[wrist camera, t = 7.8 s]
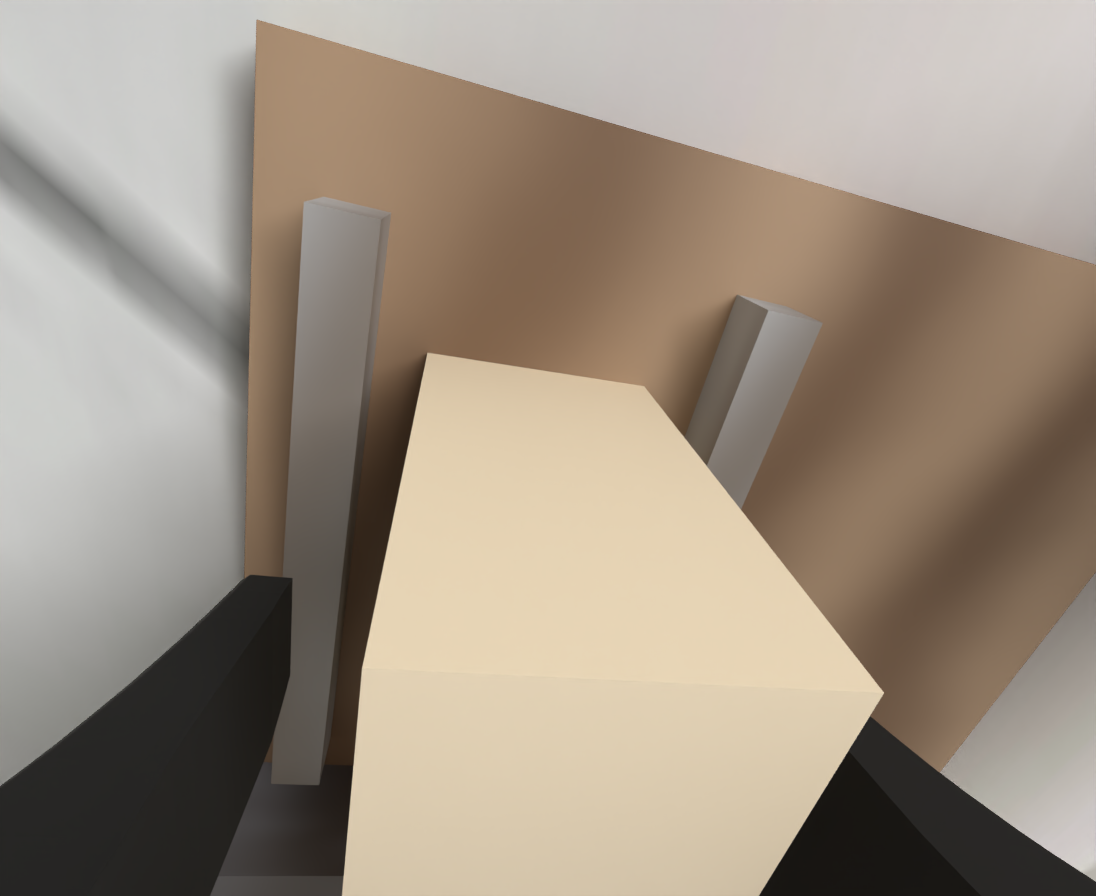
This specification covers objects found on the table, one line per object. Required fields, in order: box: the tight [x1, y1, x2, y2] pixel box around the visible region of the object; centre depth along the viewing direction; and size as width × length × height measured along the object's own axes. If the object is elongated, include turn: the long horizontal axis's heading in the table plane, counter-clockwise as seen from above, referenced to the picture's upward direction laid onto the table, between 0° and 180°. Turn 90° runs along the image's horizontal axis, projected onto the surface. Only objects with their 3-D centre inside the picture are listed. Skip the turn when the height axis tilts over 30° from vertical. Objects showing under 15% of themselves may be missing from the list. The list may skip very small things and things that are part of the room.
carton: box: [342, 353, 884, 896], centre depth 9 cm, size 8×4×7 cm, turn 168°
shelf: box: [210, 20, 1096, 896], centre depth 12 cm, size 20×16×4 cm
